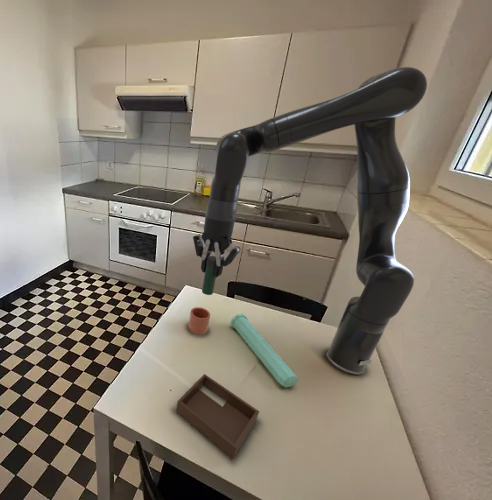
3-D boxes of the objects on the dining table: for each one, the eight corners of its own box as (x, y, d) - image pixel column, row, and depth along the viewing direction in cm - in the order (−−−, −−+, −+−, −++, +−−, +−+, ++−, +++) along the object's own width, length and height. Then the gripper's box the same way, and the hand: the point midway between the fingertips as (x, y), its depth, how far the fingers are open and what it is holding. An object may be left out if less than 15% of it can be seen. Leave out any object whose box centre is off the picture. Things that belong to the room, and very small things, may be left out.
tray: (202, 383, 72) (204, 373, 70) (255, 421, 63) (259, 411, 62) (176, 411, 64) (177, 401, 63) (232, 459, 56) (236, 448, 54)
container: (301, 371, 69) (245, 310, 91) (280, 381, 69) (228, 318, 91) (302, 385, 72) (247, 323, 94) (282, 395, 72) (231, 330, 94)
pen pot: (195, 320, 96) (197, 305, 93) (210, 329, 92) (213, 313, 89) (184, 328, 91) (186, 312, 89) (200, 338, 88) (203, 321, 85)
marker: (205, 288, 84) (211, 254, 79) (215, 292, 82) (221, 258, 77) (199, 291, 82) (204, 257, 77) (209, 296, 80) (215, 262, 75)
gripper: (252, 219, 71) (239, 279, 77) (205, 207, 79) (197, 261, 86) (239, 225, 65) (226, 288, 72) (189, 211, 74) (182, 269, 81)
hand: (210, 273), depth 79 cm, fingers closed on marker, 3 cm apart
